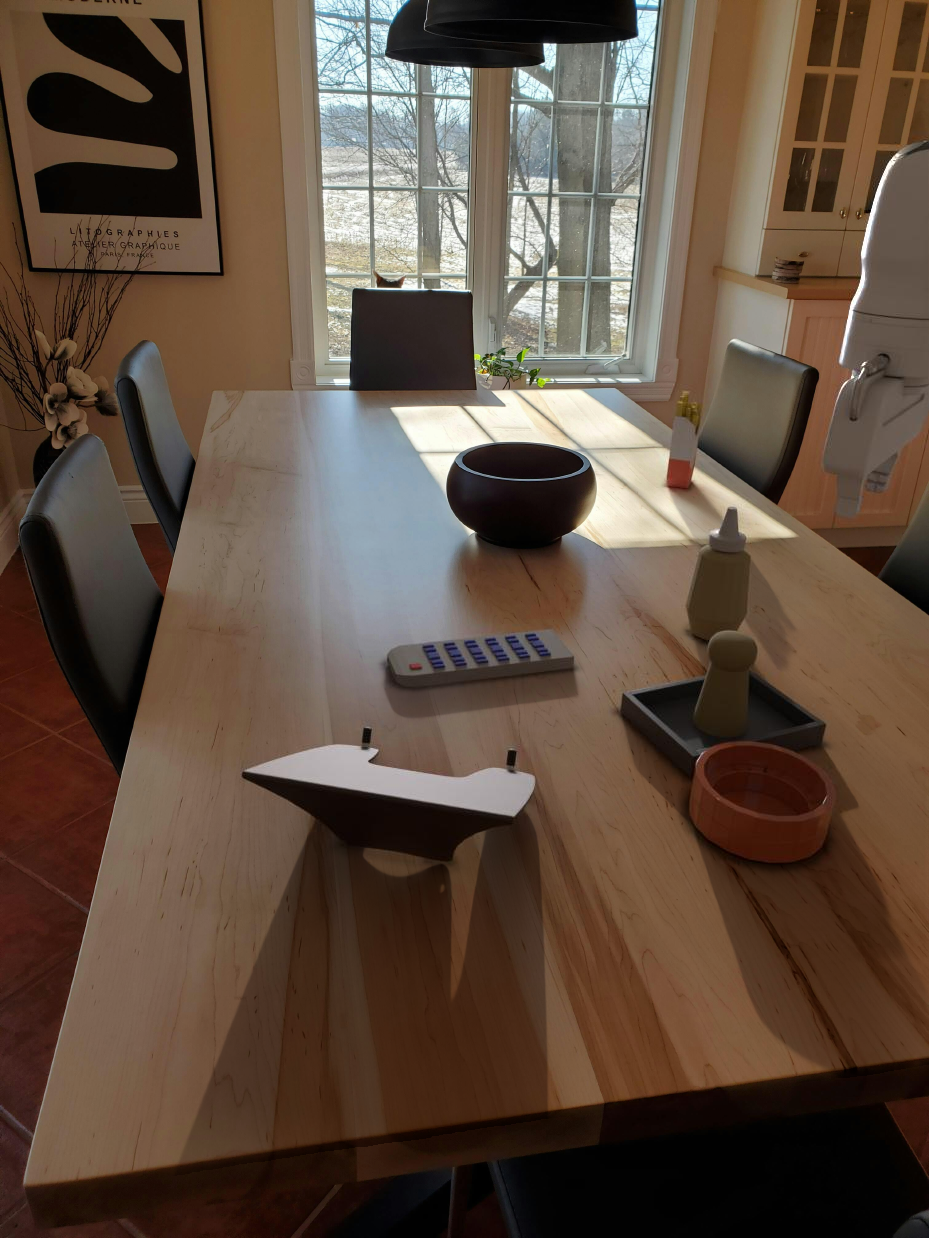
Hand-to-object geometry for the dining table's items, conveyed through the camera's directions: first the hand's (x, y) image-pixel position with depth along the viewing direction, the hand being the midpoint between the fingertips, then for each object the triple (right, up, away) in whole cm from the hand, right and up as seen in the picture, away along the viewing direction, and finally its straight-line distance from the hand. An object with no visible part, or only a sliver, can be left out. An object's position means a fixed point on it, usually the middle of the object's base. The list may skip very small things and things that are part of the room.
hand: (861, 502), depth 83 cm
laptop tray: (-42, -30, +3) cm, 52 cm away
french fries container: (+8, +17, +102) cm, 104 cm away
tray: (-8, -23, +19) cm, 31 cm away
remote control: (-35, -16, +31) cm, 49 cm away
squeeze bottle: (-3, -13, +40) cm, 42 cm away
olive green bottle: (-8, -23, +19) cm, 30 cm away
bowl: (-9, -30, +4) cm, 32 cm away
